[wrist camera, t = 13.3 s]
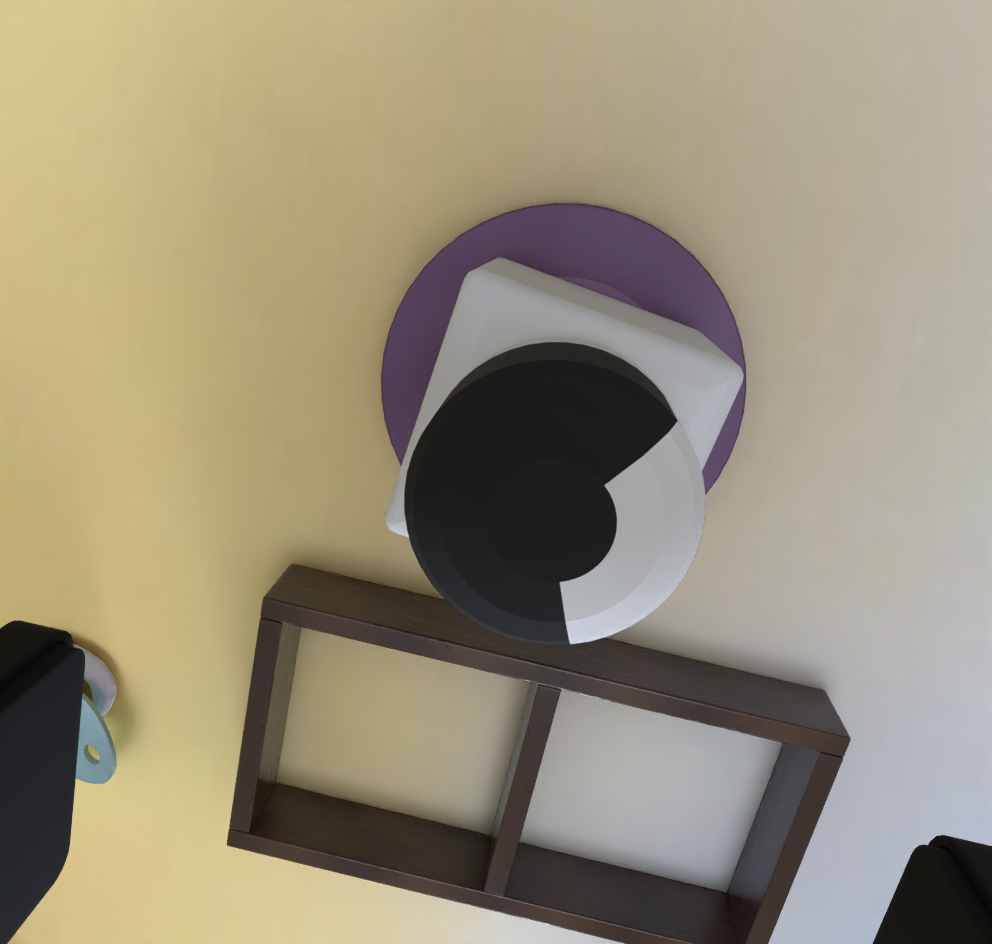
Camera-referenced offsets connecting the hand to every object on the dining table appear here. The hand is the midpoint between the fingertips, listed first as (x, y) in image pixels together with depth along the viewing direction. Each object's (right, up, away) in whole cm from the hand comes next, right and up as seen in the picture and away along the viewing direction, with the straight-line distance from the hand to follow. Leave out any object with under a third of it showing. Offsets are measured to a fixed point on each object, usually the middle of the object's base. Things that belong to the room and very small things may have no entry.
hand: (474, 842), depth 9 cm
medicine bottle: (+2, +7, +18) cm, 20 cm away
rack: (+1, -7, +23) cm, 24 cm away
